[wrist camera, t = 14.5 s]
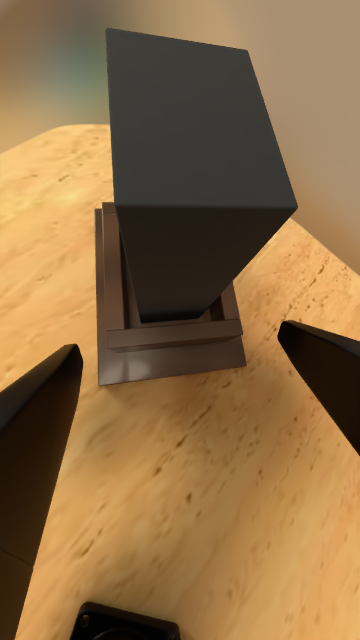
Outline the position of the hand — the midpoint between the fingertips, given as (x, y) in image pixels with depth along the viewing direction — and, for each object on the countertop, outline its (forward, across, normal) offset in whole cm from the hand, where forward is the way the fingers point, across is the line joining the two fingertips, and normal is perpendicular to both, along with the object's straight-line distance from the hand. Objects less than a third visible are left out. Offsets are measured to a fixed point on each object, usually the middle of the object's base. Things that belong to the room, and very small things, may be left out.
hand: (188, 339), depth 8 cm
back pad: (+10, 0, +1) cm, 10 cm away
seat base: (+11, 0, +2) cm, 11 cm away
